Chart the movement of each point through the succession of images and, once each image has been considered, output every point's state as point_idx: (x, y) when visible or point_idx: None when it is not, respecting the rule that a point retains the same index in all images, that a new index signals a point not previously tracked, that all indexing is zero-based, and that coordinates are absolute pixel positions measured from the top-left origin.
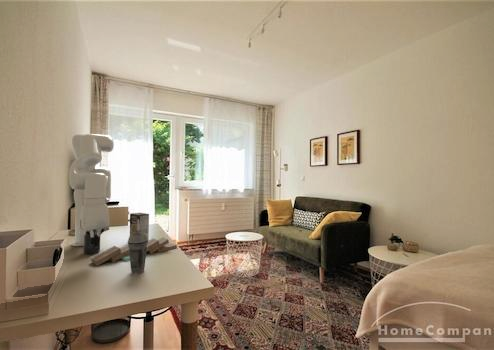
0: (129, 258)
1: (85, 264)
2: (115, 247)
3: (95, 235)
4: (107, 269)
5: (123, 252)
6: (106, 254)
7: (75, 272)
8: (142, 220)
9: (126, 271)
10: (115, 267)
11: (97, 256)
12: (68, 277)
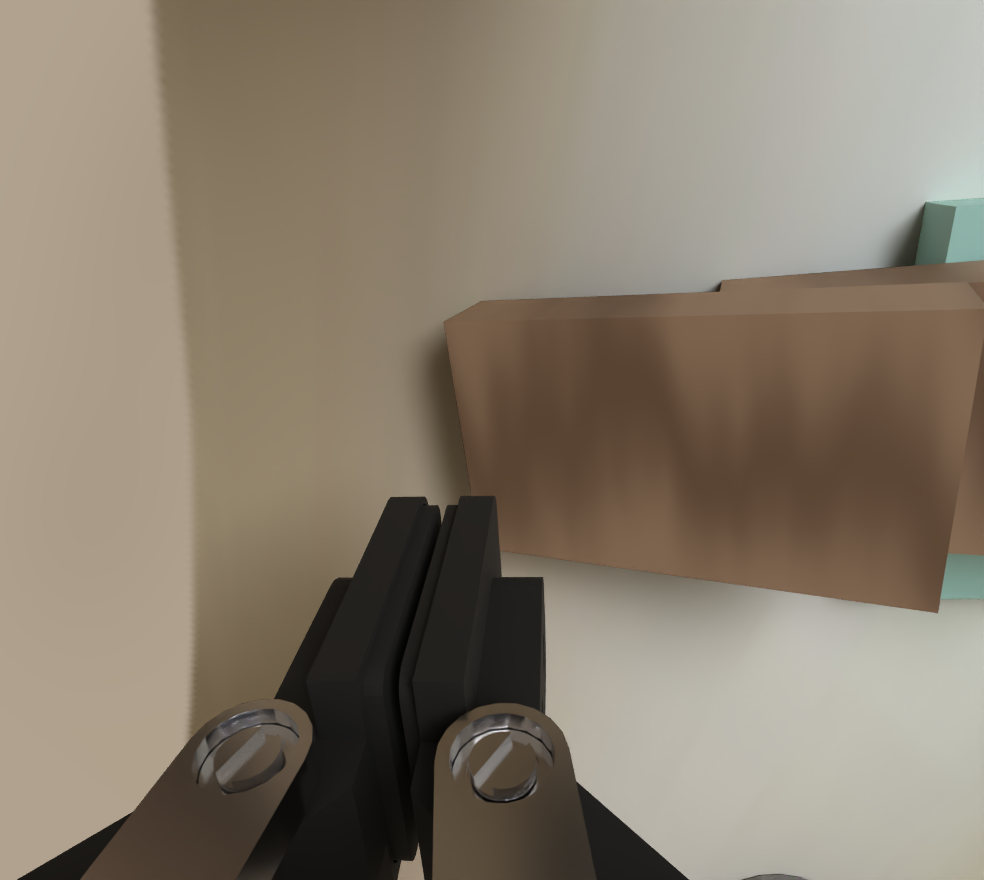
0: (944, 590)
1: (384, 317)
2: (928, 452)
3: (421, 827)
4: (573, 695)
5: (955, 551)
6: (662, 531)
7: (263, 559)
8: None
9: (698, 852)
10: (664, 695)
11: (541, 398)
12: (207, 654)
